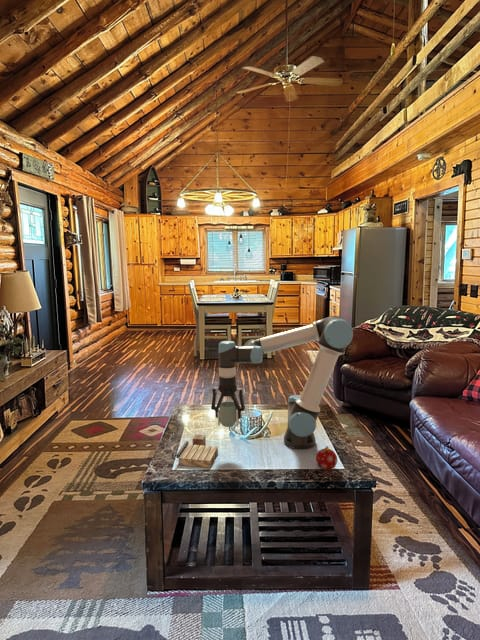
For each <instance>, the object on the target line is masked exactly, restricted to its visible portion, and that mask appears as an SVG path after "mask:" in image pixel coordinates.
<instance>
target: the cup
mask: <svg viewBox="0 0 480 640" xmlns="http://www.w3.org/2000/svg"><path fill="white" fill-rule="evenodd" d="M219 410H220V421H221V424H220V425H222V426H223V427H226V428H231V427H234V426H236V412H237V409H236V406H235V404H234V402H233V401H222V402H221V404H220V406H219Z"/></svg>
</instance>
